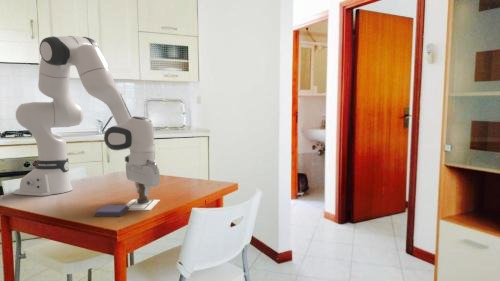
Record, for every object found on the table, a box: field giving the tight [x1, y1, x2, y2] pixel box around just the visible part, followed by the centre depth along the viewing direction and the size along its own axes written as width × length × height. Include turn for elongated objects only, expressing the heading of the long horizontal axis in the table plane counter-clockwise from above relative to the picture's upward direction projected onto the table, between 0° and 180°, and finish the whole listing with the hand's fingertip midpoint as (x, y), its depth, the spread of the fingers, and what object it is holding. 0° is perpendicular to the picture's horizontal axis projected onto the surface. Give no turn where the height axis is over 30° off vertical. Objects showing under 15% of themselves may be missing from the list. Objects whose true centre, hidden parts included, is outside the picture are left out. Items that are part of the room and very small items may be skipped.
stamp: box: [137, 183, 150, 203], centre depth 137 cm, size 4×4×9 cm
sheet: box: [125, 198, 161, 211], centre depth 134 cm, size 11×14×1 cm
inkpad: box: [93, 204, 129, 218], centre depth 124 cm, size 9×9×2 cm
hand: (143, 194), depth 137 cm, fingers closed on stamp, 4 cm apart
